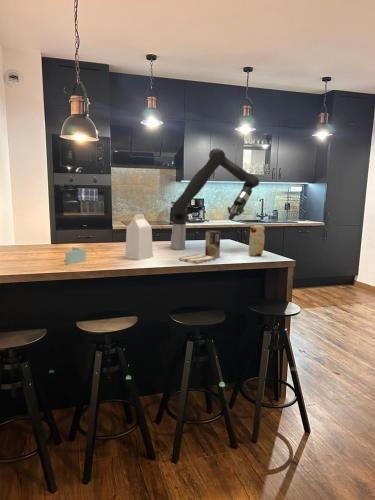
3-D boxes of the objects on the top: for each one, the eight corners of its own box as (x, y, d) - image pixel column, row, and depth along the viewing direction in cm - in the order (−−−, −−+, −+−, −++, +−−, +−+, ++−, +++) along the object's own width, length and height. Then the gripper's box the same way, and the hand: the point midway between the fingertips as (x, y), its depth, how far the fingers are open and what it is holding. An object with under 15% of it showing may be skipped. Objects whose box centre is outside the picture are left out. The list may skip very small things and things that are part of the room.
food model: (249, 256, 226) (251, 225, 223) (247, 254, 233) (248, 224, 229) (264, 257, 227) (266, 225, 223) (261, 254, 234) (263, 224, 230)
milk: (138, 260, 207) (139, 215, 202) (125, 257, 214) (125, 214, 209) (152, 257, 216) (153, 214, 212) (139, 254, 223) (139, 213, 218)
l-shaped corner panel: (73, 259, 208) (73, 246, 207) (86, 262, 201) (85, 249, 199) (55, 262, 199) (54, 249, 198) (67, 266, 192) (66, 252, 190)
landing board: (179, 260, 211) (179, 257, 211) (197, 256, 224) (197, 253, 223) (197, 264, 202) (197, 261, 202) (215, 259, 215) (215, 257, 214)
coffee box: (219, 256, 226) (220, 230, 223) (219, 258, 220) (220, 232, 217) (205, 255, 227) (206, 230, 224) (204, 257, 221) (205, 231, 218)
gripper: (231, 195, 241) (219, 214, 234) (248, 196, 232) (236, 216, 225) (235, 203, 246) (224, 222, 239) (251, 204, 237) (240, 224, 230)
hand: (230, 219), depth 232 cm, fingers closed
